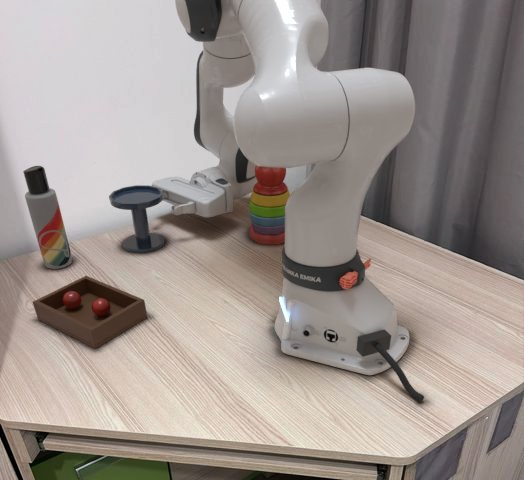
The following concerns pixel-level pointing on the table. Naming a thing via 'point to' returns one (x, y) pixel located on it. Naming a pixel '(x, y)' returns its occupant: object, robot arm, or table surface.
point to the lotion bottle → (47, 219)
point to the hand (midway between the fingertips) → (160, 205)
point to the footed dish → (139, 215)
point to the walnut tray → (83, 319)
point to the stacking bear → (268, 206)
